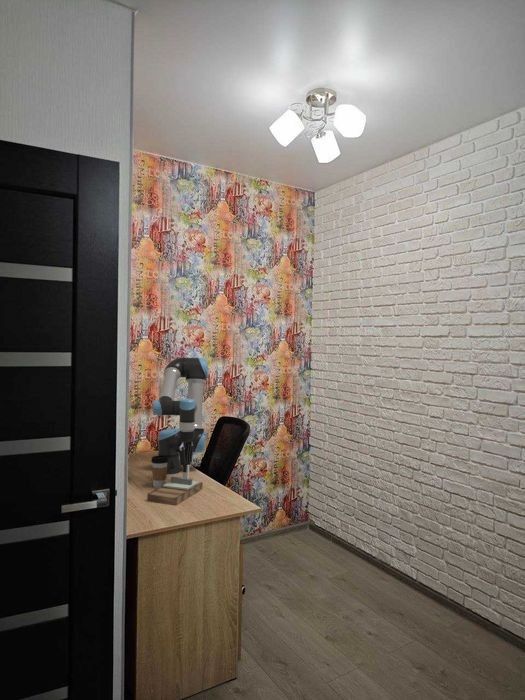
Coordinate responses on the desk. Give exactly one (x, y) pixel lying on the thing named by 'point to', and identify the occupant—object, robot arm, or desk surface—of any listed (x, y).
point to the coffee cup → (159, 470)
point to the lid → (181, 483)
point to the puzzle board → (172, 494)
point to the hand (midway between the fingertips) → (185, 478)
